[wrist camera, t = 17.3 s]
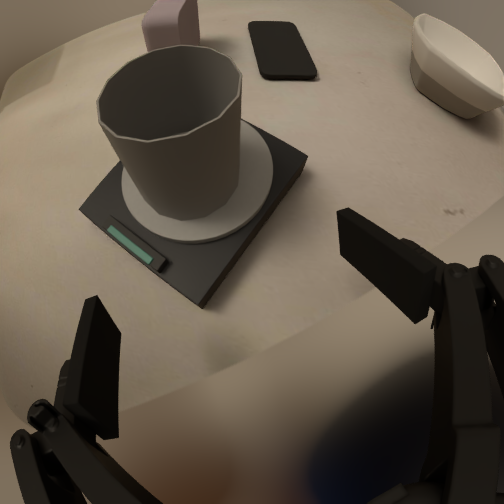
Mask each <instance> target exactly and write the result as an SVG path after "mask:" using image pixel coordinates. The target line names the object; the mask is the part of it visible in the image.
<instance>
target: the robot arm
mask: <svg viewBox="0 0 504 504" xmlns="http://www.w3.org/2000/svg"><path fill="white" fill-rule="evenodd" d="M337 221H338V232H339V244H340V255H341V256H342V257H343V258H345V259H346V260H347V261H348V262H349V263H350V264H351V265H352V266H354V267H355V268H356V269H357V270H358V271H359V272H360V273H361V274H362V275H363V276H365V277H366V278H367V279H368V280H369V281H370V282H371V283H372V284H373V285H374V286H375V287H377V288H378V289H379V290H380V291H381V292H382V293H383V294H384V295H385V296H386V297H387V298H388V299H390V301H391V302H393V303H394V304H395V305H396V306H397V307H398V308H399V309H400V310H401V311H402V312H403V313H404V314H405V315H406V316H407V317H408V318H409V319H410V320H411V321H412V322H413V323H414V324H416V323H418V322H420V321H421V320H423V319H424V318H426V317H427V316H428V311H429V307H431V308H432V309H433V310H434V311H435V312H434V316H433V320H432V324H431V329H433V326H434V339H435V340H434V341H435V373H434V397H433V412H432V422H431V431H430V439H429V446H428V453H427V457H426V459H425V462H424V464H423V467H422V470H421V474H420V479H419V482H417V483H412V484H407V485H404V486H403V485H402V483H400V484H398V485H397V486H395V487H393V488H392V489H390V490H388V491H387V492H385V493H383V494H381V495H379V496H378V497H376V498H374V499H372V500H371V501H370V502H368V503H367V504H504V493H497V492H496V491H497V482H498V473H499V459H500V429H499V427H498V425H495V424H493V421H492V399H491V383H490V372H489V363H488V355H489V357H490V360H491V363H492V365H493V368H494V371H495V374H496V377H497V380H498V383H499V386H500V388H501V392H502V395H503V398H504V263H503V261H502V260H501V259H500V258H498V257H496V256H494V255H484V256H482V257H481V258H480V262H479V266H477V267H473V268H469V269H468V268H467V267H466V266H464V265H462V264H458V263H450V264H446V263H444V262H443V261H441V260H440V259H439V258H437V257H436V256H434V255H433V254H431V253H430V252H428V251H426V250H425V249H424V248H422V247H420V246H419V245H418V244H416V243H415V242H413V241H411V240H407V239H404V238H402V239H400V240H399V239H397V238H396V237H394V236H393V235H391V234H390V233H388V232H387V231H385V230H384V229H382V228H381V227H379V226H377V225H376V224H374V223H373V222H371V221H370V220H368V219H366V218H365V217H363V216H362V215H360V214H358V213H357V212H355V211H353V210H352V209H350V208H345V209H342V210H339V211H337ZM494 300H495V302H494ZM495 303H496V304H495ZM120 344H121V332H120V331H119V329H118V328H117V326H116V325H115V323H114V321H113V320H112V318H111V317H110V315H109V314H108V312H107V310H106V309H105V307H104V305H103V304H102V302H101V300H100V299H99V297H98V295H96V296H93V297H91V298H88V299H85V302H84V306H83V309H82V313H81V317H80V321H79V325H78V328H77V333H76V337H75V341H74V345H73V350H72V354H71V359H70V360H66V361H65V363H64V364H63V366H62V368H61V370H60V375H59V380H58V385H57V386H58V388H57V390H56V396H55V402H54V406H52V405H51V404H50V403H49V402H48V401H47V400H46V399H40V400H37V401H36V402H35V403H33V404H32V406H31V407H30V409H29V411H28V415H27V420H28V423H29V424H30V425H32V426H33V427H34V428H35V429H36V430H38V431H37V432H35V433H33V434H29V433H28V432H27V431H26V430H24V429H20V430H18V431H16V432H15V433H14V434H13V436H12V438H11V441H10V449H11V454H12V459H13V463H14V467H15V471H16V475H17V479H18V483H19V486H20V490H21V493H22V497H23V500H24V503H25V504H87V502H86V500H85V498H84V496H83V494H84V495H85V496H86V497H87V499H88V500H89V501H90V502H91V503H92V504H163V503H162V502H160V501H159V500H158V499H157V498H155V497H154V496H153V495H152V494H151V493H150V492H148V491H147V490H146V489H145V488H144V487H143V486H141V485H140V484H139V483H138V482H137V481H136V480H135V479H134V478H133V477H132V476H130V475H129V474H128V473H127V472H126V471H125V470H124V469H123V468H122V467H121V466H120V465H119V464H118V463H117V462H116V461H115V460H114V459H113V458H112V457H111V456H110V455H109V454H108V453H107V452H106V451H105V449H103V447H102V446H101V445H100V444H98V443H97V442H96V434H97V435H98V436H99V437H101V438H102V439H103V440H108V439H114V438H119V428H118V388H119V360H120ZM487 352H488V355H487ZM81 491H82V492H83V494H82V492H81Z"/></svg>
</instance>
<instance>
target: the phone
mask: <svg viewBox="0 0 504 504" xmlns="http://www.w3.org/2000/svg"><path fill="white" fill-rule="evenodd" d="M248 29H249V33H250V37H251V40H252V44H253V48H254V52H255V56H256V60H257V64H258V68H259V72H260V74H261V75H262V76H263V77H265V78H269V79H313V78H315V77H316V75H317V70H316V67H315V65H314V63H313V61H312V59H311V56H310V54H309V52H308V50H307V48H306V46H305V44H304V42H303V40H302V38H301V36H300V34H299V32H298V30H297V28H296V26H295V25H294V24H293V23H291V22H282V21H252V22H249V24H248Z"/></svg>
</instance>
